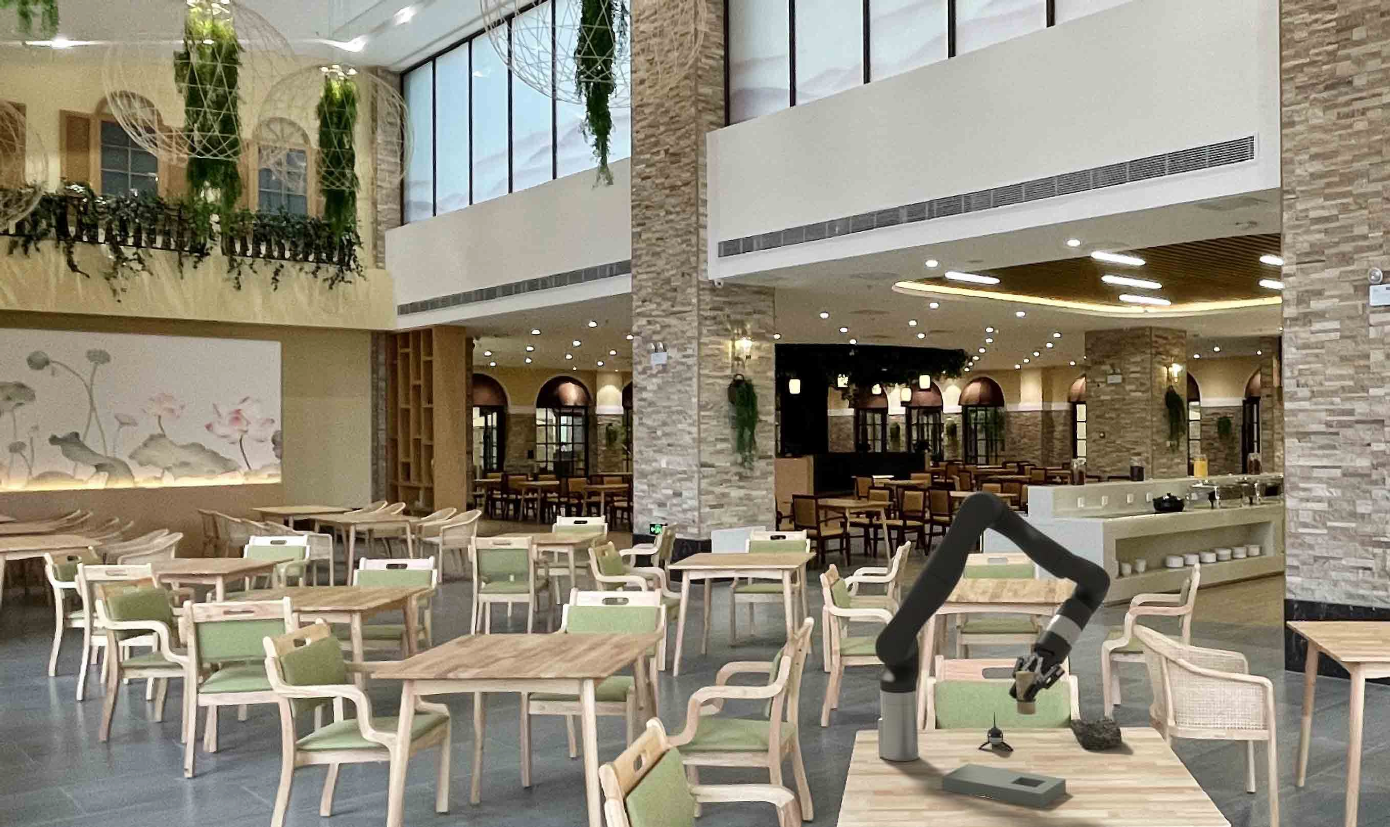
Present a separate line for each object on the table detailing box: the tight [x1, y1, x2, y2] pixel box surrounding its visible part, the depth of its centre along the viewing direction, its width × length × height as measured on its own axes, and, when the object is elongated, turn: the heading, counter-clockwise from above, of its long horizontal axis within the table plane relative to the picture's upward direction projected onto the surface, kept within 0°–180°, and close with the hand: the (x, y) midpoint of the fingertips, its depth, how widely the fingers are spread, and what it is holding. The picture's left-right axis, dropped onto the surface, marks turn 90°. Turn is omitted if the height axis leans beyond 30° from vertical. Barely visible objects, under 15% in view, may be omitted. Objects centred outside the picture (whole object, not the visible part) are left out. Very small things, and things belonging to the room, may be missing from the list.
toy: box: [978, 711, 1014, 751], centre depth 316 cm, size 21×10×10 cm, turn 167°
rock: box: [1069, 715, 1123, 750], centre depth 314 cm, size 12×16×6 cm
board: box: [941, 762, 1067, 809], centre depth 274 cm, size 24×14×3 cm, turn 51°
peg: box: [1015, 670, 1037, 716], centre depth 271 cm, size 4×4×9 cm
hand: (1019, 697), depth 270 cm, fingers closed on peg, 4 cm apart
